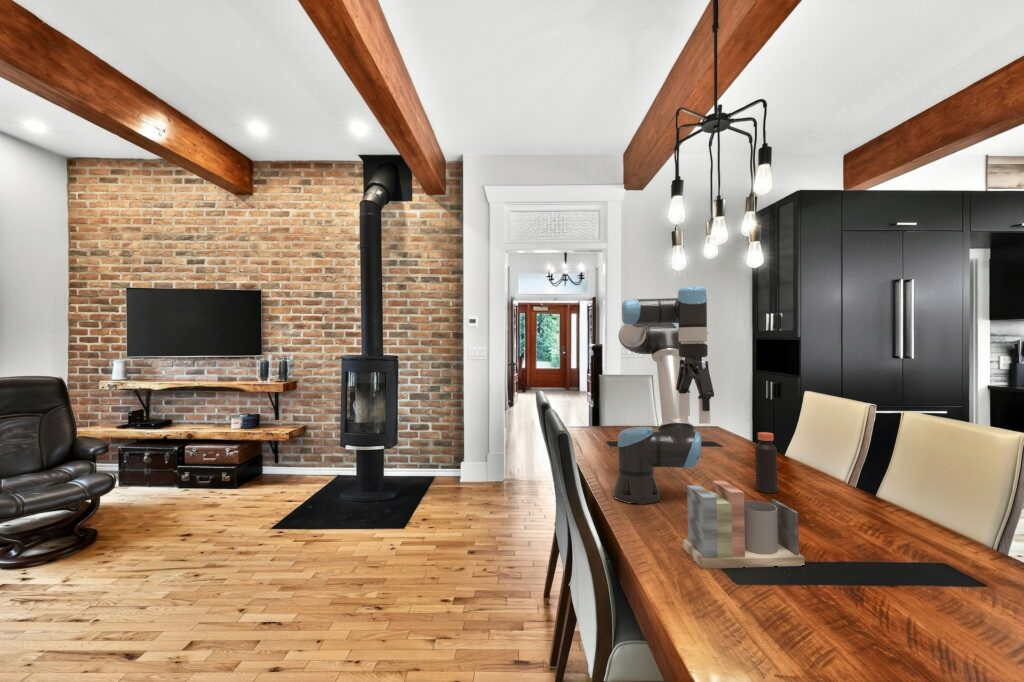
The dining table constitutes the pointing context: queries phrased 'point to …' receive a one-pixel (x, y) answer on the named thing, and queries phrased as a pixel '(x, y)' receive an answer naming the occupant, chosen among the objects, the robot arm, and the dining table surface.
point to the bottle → (766, 463)
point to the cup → (761, 527)
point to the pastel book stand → (734, 530)
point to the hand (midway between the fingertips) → (694, 419)
